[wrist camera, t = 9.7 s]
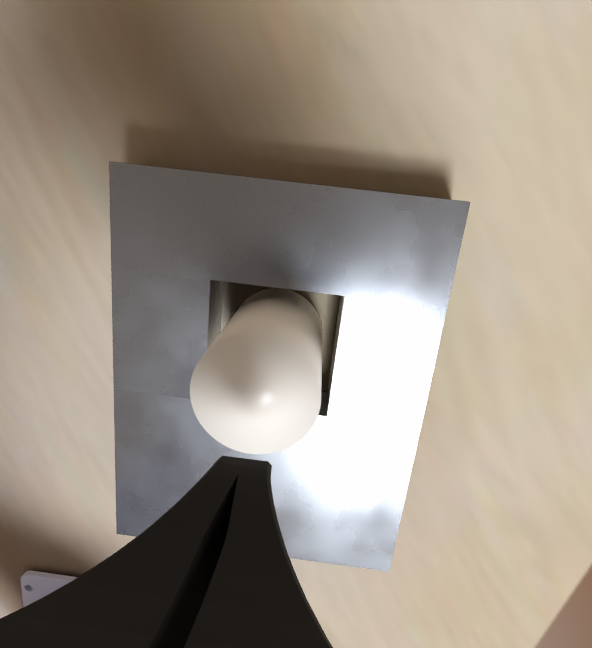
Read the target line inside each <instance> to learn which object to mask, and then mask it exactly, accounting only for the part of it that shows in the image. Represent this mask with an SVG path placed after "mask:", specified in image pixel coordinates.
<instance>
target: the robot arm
mask: <svg viewBox="0 0 592 648" xmlns="http://www.w3.org/2000/svg"><path fill="white" fill-rule="evenodd" d="M271 470H272V465H271V464H270V463H269V462H268V461H262V460H254V459H246V458H238V457H230V456H221V457H220V458H219V459H218V460H217V461H216V462H215V463H214V464H213V465H212V467H211V468H210V469H209V470H208V471H207V472H206V473H205V474H204V475H203V477H202V478H201V479H200V480H199V481H198V482H197V483H196V484H195V485H194V486H193V487H192V488H191V489H190V490H189V491H188V492H187V493H186V494H185V495H184V496H183V497H182V498H181V499H180V500H179V501H178V502H177V503H176V504H175V505H173V506H172V507H171V508H170V509H169V510H168V511H167V512H166V513H164V514H163V515H162V516H161V517H160V518H159V519H158V520H156V521H155V522H154V523H153V524H152V525H151V526H150V527H148V528H147V529H146V530H145V531H143V532H142V533H141V534H140V535H138V536H137V537H136V538H135V539H133V540H132V541H131V542H129V543H128V544H127V545H125V546H124V547H123V548H121V549H120V550H118V551H117V552H116V553H114V554H113V555H111V556H110V557H108V558H107V559H105V560H104V561H102V562H101V563H99V564H98V565H96V566H95V567H93V568H92V569H90V570H89V571H87V572H85V573H84V574H82V575H81V576H79V577H73V576H66V575H59V574H52V573H45V572H38V571H26V572H25V573H24V574H23V576H22V577H21V580H20V581H21V590H22V600H23V608H21V609H19V610H17V611H15V612H13V613H11V614H9V615H7V616H5V617H3V618H1V619H0V648H333V647H332V646H331V644H330V642H329V641H328V639H327V637H326V635H325V633H324V631H323V630H322V628H321V626H320V624H319V622H318V620H317V618H316V616H315V614H314V612H313V611H312V609H311V607H310V605H309V603H308V601H307V599H306V597H305V594H304V592H303V590H302V588H301V585H300V583H299V581H298V579H297V576H296V574H295V571H294V569H293V566H292V564H291V561H290V558H289V556H288V553H287V550H286V547H285V544H284V540H283V537H282V534H281V530H280V527H279V523H278V519H277V515H276V510H275V506H274V501H273V495H272V487H271Z"/></svg>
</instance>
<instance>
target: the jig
mask: <svg viewBox="0 0 592 648" xmlns="http://www.w3.org/2000/svg"><path fill="white" fill-rule="evenodd" d="M109 171H110V221H111V271H112V322H113V372H114V422H115V472H116V522H117V534H122V535H129V536H136V537H137V536H138V535H140V534H141V533H142V532H143V531H145V530H146V529H147V528H148V527H150V526H151V525H152V524H153V523H154V522H155V521H156V520H158V519H159V518H160V517H161V516H162V515H163V514H164V513H166V512H167V511H168V510H169V509H170V508H171V507H172V506H173V505H175V504H176V503H177V502H178V501H179V500H180V499H181V498H182V497H183V496H184V495H185V494H186V493H187V492H188V491H189V490H190V489H191V488H192V487H193V486H194V485H195V484H196V483H197V482H198V481H199V480H200V479H201V478H202V477H203V475H204V474H205V473H206V472H207V471H208V470H209V469H210V468H211V467H212V465H213V464H214V463H215V462H216V461H217V460H218V459H219V458H220V457H221V456H230V457H238V458H246V459H254V460H262V461H268V462H269V463H270V464H271V465H272V470H271V487H272V495H273V501H274V506H275V510H276V515H277V519H278V523H279V527H280V530H281V534H282V537H283V540H284V544H285V547H286V550H287V553H288V556H289V558H294V559H301V560H308V561H316V562H323V563H330V564H337V565H344V566H351V567H359V568H366V569H373V570H380V571H387V572H389V571H390V566H391V561H392V557H393V552H394V548H395V543H396V539H397V534H398V529H399V525H400V520H401V516H402V511H403V507H404V502H405V498H406V493H407V488H408V484H409V479H410V475H411V470H412V466H413V461H414V457H415V452H416V447H417V443H418V438H419V434H420V429H421V425H422V420H423V415H424V411H425V406H426V402H427V397H428V393H429V388H430V384H431V379H432V374H433V370H434V365H435V361H436V356H437V352H438V347H439V342H440V338H441V333H442V329H443V324H444V320H445V315H446V311H447V306H448V301H449V297H450V292H451V288H452V283H453V279H454V274H455V270H456V265H457V260H458V256H459V251H460V247H461V242H462V238H463V233H464V228H465V224H466V219H467V215H468V210H469V206H470V202H467V201H458V200H449V199H440V198H431V197H423V196H414V195H405V194H396V193H387V192H378V191H369V190H360V189H351V188H342V187H333V186H324V185H315V184H306V183H297V182H289V181H280V180H271V179H262V178H253V177H244V176H235V175H226V174H217V173H208V172H199V171H190V170H181V169H172V168H163V167H155V166H146V165H137V164H128V163H119V162H110V161H109ZM223 281H224V282H233V283H241V284H249V285H258V286H266V287H274V288H283V289H291V290H299V291H308V292H316V293H324V294H333V295H341V296H340V303H339V310H338V317H337V325H336V332H335V339H334V346H333V353H332V360H331V367H330V374H329V381H328V388H327V392H322V391H321V406H320V411H319V414H318V417H317V420H316V422H315V424H314V425H313V427H312V429H311V430H310V431H309V433H308V434H307V435H306V436H305V437H304V438H303V439H302V440H301V441H299V442H298V443H296V444H295V445H293V446H291V447H289V448H287V449H285V450H282V451H280V452H276V453H271V454H248V453H243V452H239V451H236V450H233V449H230V448H228V447H226V446H224V445H223V444H221V443H220V442H218V441H216V440H215V439H214V438H213V437H212V436H210V435H209V434H208V433H207V431H206V430H205V429H204V428H203V427H202V425H201V424H200V423H199V421H198V419H197V417H196V415H195V413H194V410H193V408H192V404H191V399H190V383H191V377H192V374H193V371H194V369H195V367H196V365H197V363H198V362H199V360H200V359H201V357H202V356H203V355H204V353H205V352H206V351H207V349H208V348H209V347H210V345H211V344H212V343H213V341H214V340H215V339H216V338H217V336H218V335H219V334H220V330H221V312H222V295H223Z"/></svg>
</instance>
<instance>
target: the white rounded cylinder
mask: <svg viewBox="0 0 592 648" xmlns="http://www.w3.org/2000/svg"><path fill="white" fill-rule="evenodd" d="M321 381H322V324H321V320H320V317H319V315H318V313H317V311H316V309H315V308H314V307H313V305H312V304H311V303H310V302H309V301H308V300H307V299H306V298H304V297H303V296H301V295H300V294H298V293H296V292H293V291H291V290H287V289H280V288H272V289H266V290H262V291H259V292H257V293H255V294H253V295H252V296H250V297H249V298H248V299H246V300H245V301H244V302H243V304H242V305H241V306H240V307H239V309H238V310H237V311H236V313H235V314H234V315H233V317H232V318H231V319H230V320H229V322H228V323H227V324H226V326H225V327H224V328H223V330H222V331H221V332H220V334H219V335H218V336H217V338H216V339H215V340H214V341H213V343H212V344H211V345H210V347H209V348H208V349H207V351H206V352H205V353H204V355H203V356H202V357H201V359H200V360H199V362H198V363H197V365H196V367H195V369H194V371H193V374H192V377H191V383H190V399H191V404H192V408H193V410H194V413H195V415H196V417H197V419H198V421H199V423H200V424H201V425H202V427H203V428H204V429H205V430H206V431H207V433H208V434H209V435H210V436H212V437H213V438H214V439H215V440H216V441H218V442H220V443H221V444H223V445H224V446H226V447H228V448H230V449H233V450H236V451H239V452H243V453H248V454H271V453H276V452H280V451H282V450H285V449H287V448H289V447H291V446H293V445H295V444H296V443H298V442H299V441H301V440H302V439H303V438H304V437H305V436H306V435H307V434H308V433H309V431H310V430H311V429H312V427H313V425H314V424H315V422H316V420H317V417H318V414H319V411H320V406H321Z"/></svg>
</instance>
